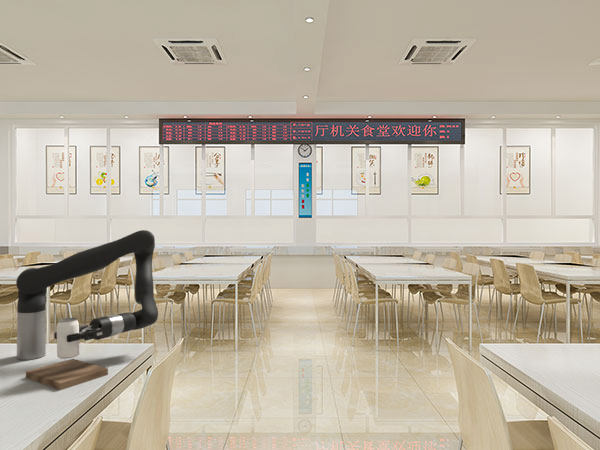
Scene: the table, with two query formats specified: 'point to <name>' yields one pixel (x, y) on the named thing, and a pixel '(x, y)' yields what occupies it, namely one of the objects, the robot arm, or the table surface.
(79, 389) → the table surface
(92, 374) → the serving board
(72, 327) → the can
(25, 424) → the table surface
